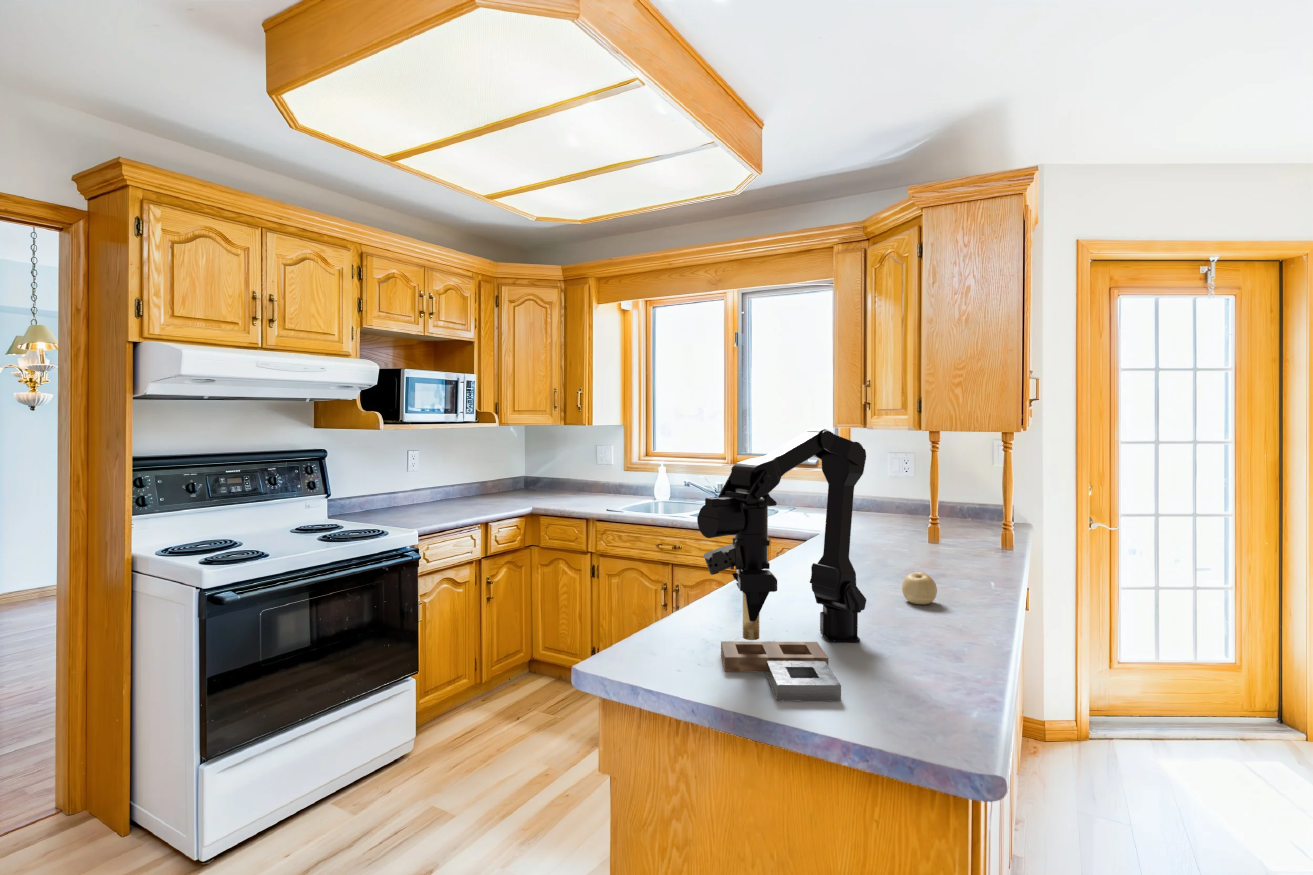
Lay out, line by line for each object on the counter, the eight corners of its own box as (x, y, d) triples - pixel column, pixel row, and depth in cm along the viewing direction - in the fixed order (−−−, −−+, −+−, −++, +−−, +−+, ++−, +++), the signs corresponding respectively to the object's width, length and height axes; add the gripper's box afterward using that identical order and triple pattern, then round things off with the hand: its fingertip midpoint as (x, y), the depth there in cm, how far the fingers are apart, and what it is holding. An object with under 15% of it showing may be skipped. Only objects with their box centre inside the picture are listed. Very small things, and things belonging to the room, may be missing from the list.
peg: (758, 634, 117) (758, 585, 116) (760, 640, 114) (760, 590, 113) (741, 634, 117) (741, 585, 116) (743, 640, 114) (743, 590, 113)
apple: (933, 596, 157) (943, 574, 153) (928, 617, 151) (938, 594, 147) (901, 583, 160) (910, 561, 156) (894, 603, 154) (904, 581, 150)
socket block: (824, 675, 110) (824, 660, 110) (841, 701, 100) (841, 685, 100) (766, 675, 110) (766, 660, 110) (777, 700, 100) (777, 684, 100)
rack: (817, 655, 119) (817, 641, 119) (828, 671, 111) (828, 657, 111) (720, 654, 119) (720, 641, 119) (725, 671, 111) (725, 657, 111)
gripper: (703, 523, 124) (703, 603, 124) (710, 542, 105) (710, 635, 106) (760, 523, 124) (760, 603, 124) (778, 542, 105) (777, 635, 106)
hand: (751, 617), depth 115 cm, fingers closed on peg, 3 cm apart
